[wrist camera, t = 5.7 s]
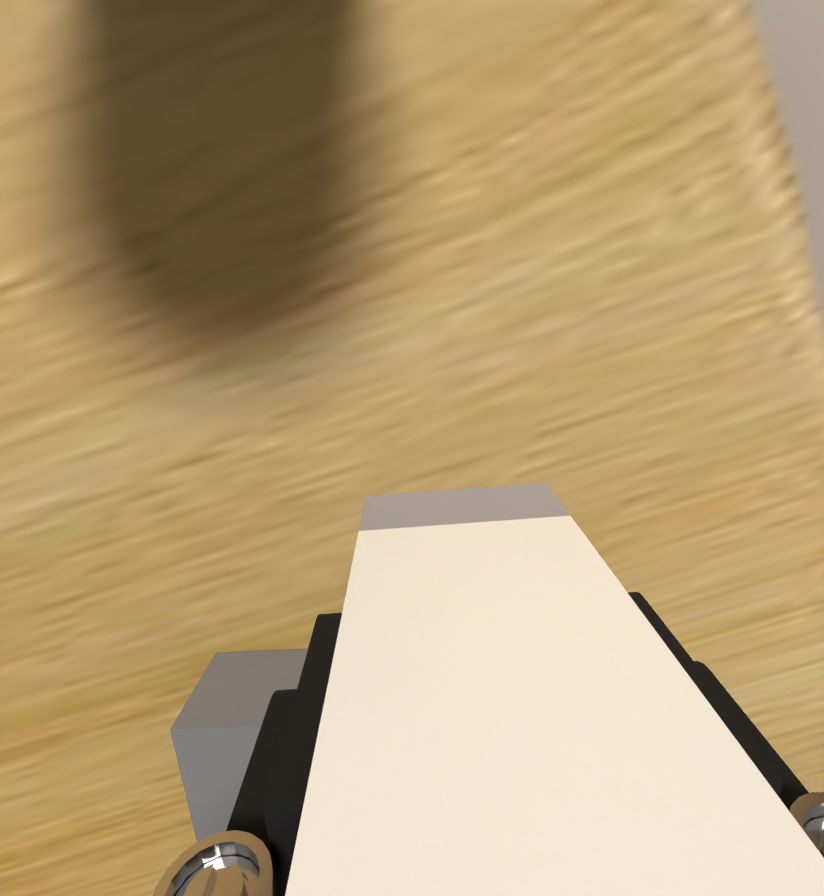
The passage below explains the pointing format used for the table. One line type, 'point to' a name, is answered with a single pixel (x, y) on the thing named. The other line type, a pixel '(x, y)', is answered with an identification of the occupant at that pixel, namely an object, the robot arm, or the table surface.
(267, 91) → the table surface
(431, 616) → the plug
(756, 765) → the robot arm
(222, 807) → the socket box
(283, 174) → the table surface
